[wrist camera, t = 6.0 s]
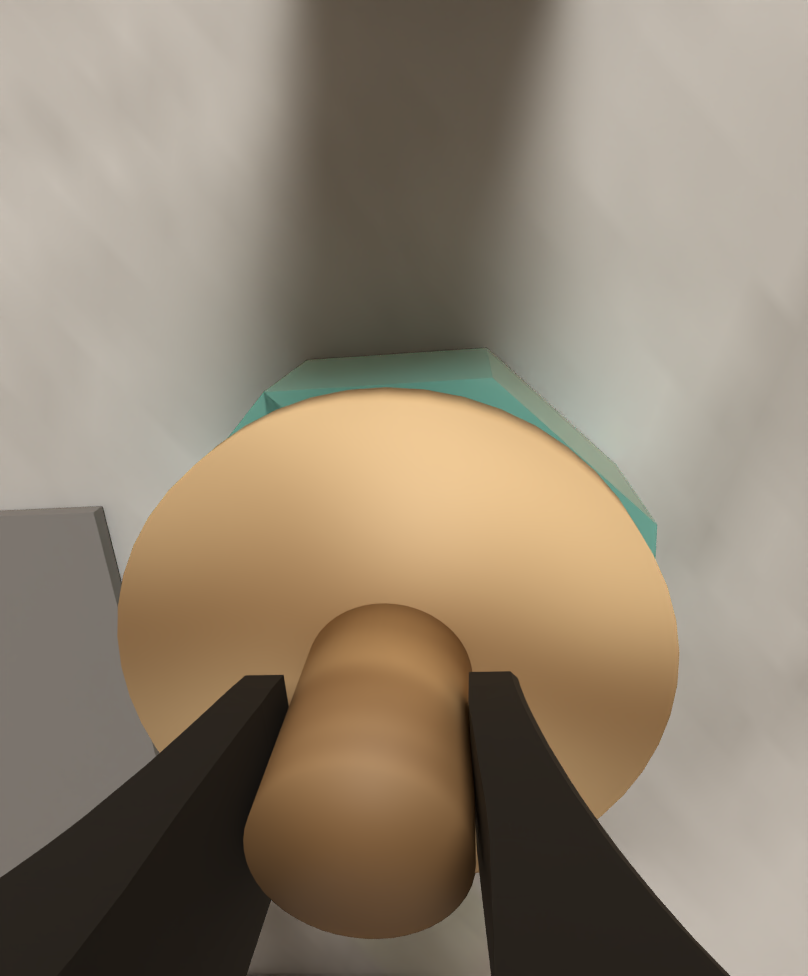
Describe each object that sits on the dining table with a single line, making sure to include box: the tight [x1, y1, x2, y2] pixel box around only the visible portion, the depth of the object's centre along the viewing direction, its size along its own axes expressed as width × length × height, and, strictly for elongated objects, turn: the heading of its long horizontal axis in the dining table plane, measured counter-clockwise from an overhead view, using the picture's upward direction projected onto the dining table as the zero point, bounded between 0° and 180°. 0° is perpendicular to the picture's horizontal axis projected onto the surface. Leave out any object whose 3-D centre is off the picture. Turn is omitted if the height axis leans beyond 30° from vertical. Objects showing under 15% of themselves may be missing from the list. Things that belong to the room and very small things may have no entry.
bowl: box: [228, 348, 657, 558], centre depth 14 cm, size 9×9×3 cm
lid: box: [117, 387, 679, 939], centre depth 10 cm, size 9×9×4 cm
